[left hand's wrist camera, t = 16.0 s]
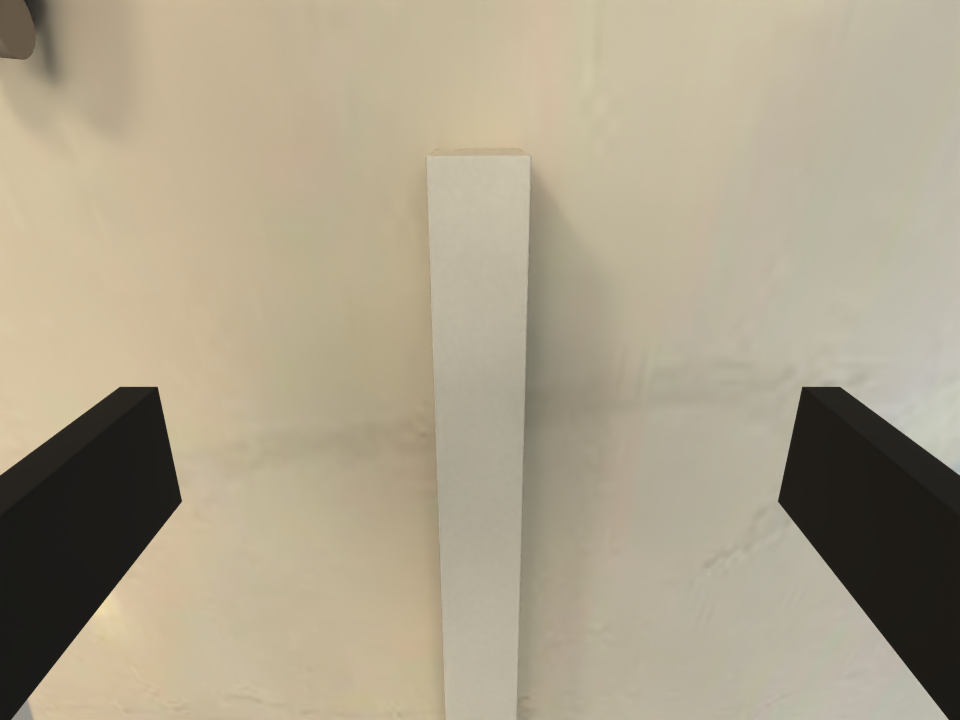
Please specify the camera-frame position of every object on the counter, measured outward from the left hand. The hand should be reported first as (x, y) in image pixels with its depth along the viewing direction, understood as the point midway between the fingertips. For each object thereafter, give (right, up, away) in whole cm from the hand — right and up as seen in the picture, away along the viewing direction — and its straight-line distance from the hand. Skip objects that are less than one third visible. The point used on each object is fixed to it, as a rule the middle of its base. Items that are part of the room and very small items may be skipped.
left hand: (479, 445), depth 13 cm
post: (0, -13, +39) cm, 41 cm away
